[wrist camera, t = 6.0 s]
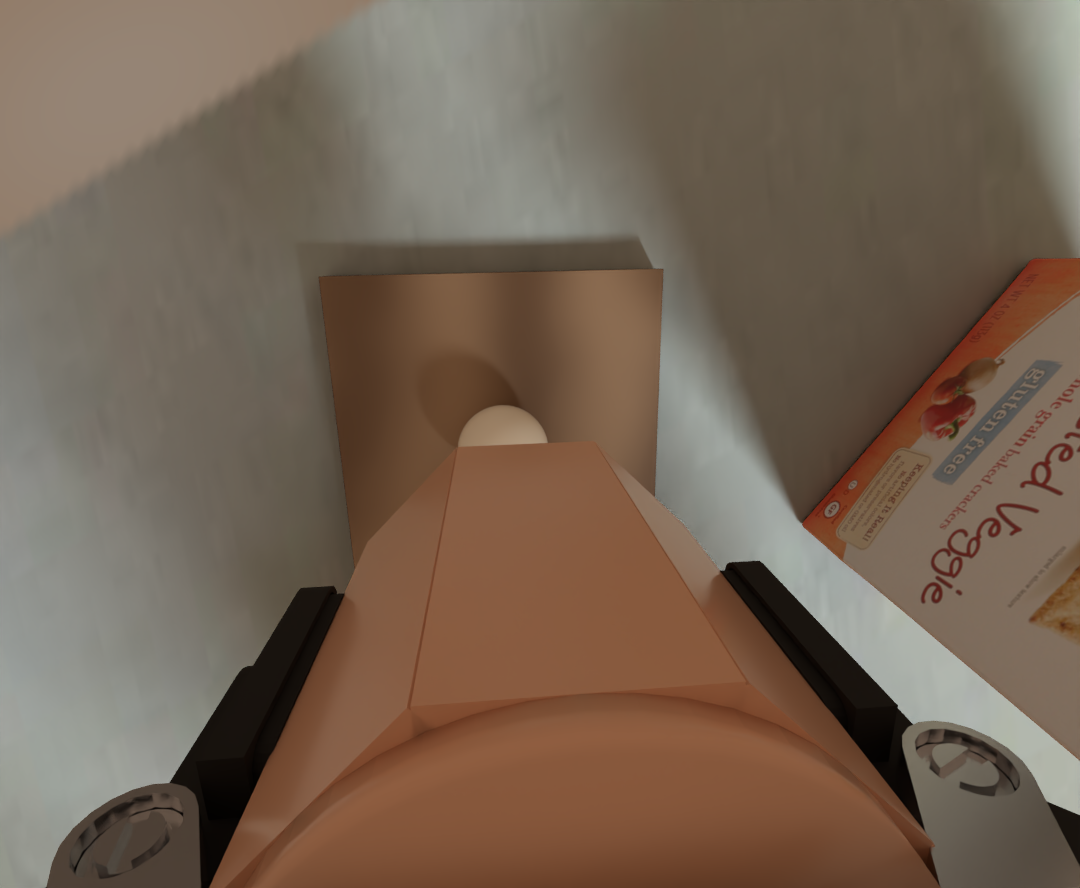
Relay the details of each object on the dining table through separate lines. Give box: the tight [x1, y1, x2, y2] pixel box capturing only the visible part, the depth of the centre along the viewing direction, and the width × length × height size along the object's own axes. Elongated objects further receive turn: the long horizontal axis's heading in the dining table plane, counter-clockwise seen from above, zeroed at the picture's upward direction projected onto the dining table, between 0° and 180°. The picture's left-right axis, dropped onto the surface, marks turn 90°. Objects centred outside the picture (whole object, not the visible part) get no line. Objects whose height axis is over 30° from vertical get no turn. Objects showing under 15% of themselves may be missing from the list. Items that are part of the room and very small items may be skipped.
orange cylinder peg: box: [209, 441, 941, 888], centre depth 9 cm, size 7×7×8 cm
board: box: [319, 269, 663, 568], centre depth 24 cm, size 12×22×2 cm, turn 1°
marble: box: [458, 405, 548, 447], centre depth 21 cm, size 3×3×3 cm
